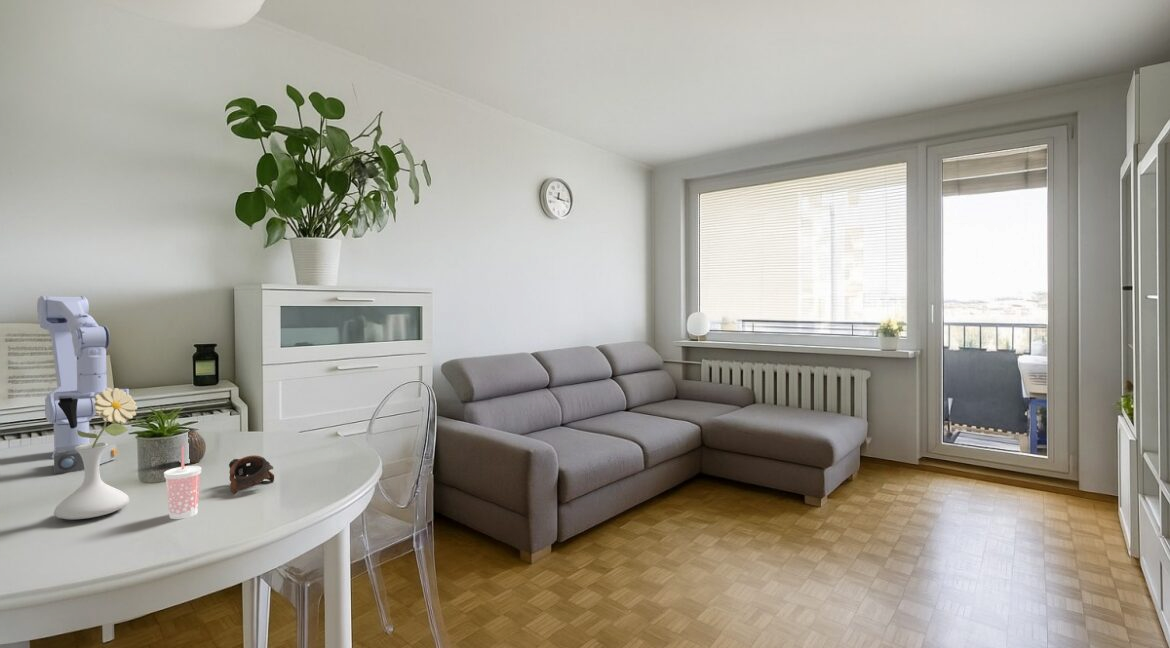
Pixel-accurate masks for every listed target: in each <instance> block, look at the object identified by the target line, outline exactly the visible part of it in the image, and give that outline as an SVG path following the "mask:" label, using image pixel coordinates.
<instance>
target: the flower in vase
mask: <svg viewBox="0 0 1170 648" xmlns="http://www.w3.org/2000/svg"><path fill="white" fill-rule="evenodd" d="M112 389H114V390H112ZM119 389H120V388H118V387H115V388H110V387H107V389H106V390H103V391H102V394H103V395H102V394H97V395H94V396H95V398H94V401H95V402H96V403H94V406H95V413H96V415H98V416H99V418H102V419H103V421H104V424H103V427H102V428H101V430H100V432H99V433H98V434H96V433H90V432H89V433H85V432H81V431H79V430H77V432H78V435H79V436H81V437H86V438H90V439H95V440H94V442H92V443H91V442H90V444H84V445H79V446H76V447H75V450H77V451H78V452H79V454H80V455H81V457H82V460H83V463H84V470H83V471H84V478H83V481H82V484H81V485H80V486H79V487H78V488H77V489H76V490H75V491H73V492H72V493H71V494H69V495H68V496H67V497H65V498H64V499H63V500H62V501H61V502H59V504H58V505H56V507H55V508H54V511H53V515H54V516H55V517H56V518H58V519H62V520H85V519H91V518H97V517H102V516H104V515H108V514H111V513H114V512H116V511H119V510H120V509H122V508H125V507H126V506H127V505H128V504H129V502H130V497H129V496H128V494H127V493H125V492H123V491H122V490H120V489H118V488H115V487H113V486H112V485H109V484H107V483H105V482H104V481H103V480H102V478H101V475H100V474H101V473H100V466H101V464H100V458H101V455H102V452H103V450H104V449H105V447H106V446H109V445H108V443H107V442H98V441H99V439H100V437H101V436H102V434H103V432H104V431H105V432H106V433H107V434H108V435H110V436H113V437H116V436H118V435H122V434H124V433H126V432H127V431H128V430H129V429H128V428H127V427H126V426H124V425H123V424H126V423H127V422H128V419H129V420H131V419H133V417H135V416H137V412H136V411H137V410H138V406H137V403H136V401H135V400H134V399H133V396H132V395H130V394H129V395H126V392H124V391H123V390H119ZM109 422H112V423H114V424H111V425H109V424H108V426H107V423H109Z"/></svg>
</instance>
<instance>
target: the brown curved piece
mask: <svg viewBox="0 0 1170 648" xmlns="http://www.w3.org/2000/svg"><path fill="white" fill-rule="evenodd" d="M228 467H229V472H228V473H229V481H230V484H229V490H230V492H231V493H232V494H235V495H236V493H237V491H239V490H240V491H241V490H244V489H246V488H252V487H254V486H256V485H258V484H261V483H262V481H264V480H268V481H270V482H271V483H274V482H275V475H274V473H273V472H271V470H274V466H273V465H271V463H270V462H269V461H268V460H266V458H264V457H263V456H259V455H256V454H255V455H247V456H243V457H242V458H233V459H232V460H231V461H230V462H229V464H228ZM273 481H274V482H273Z"/></svg>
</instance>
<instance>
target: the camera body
mask: <svg viewBox="0 0 1170 648" xmlns="http://www.w3.org/2000/svg"><path fill="white" fill-rule="evenodd" d="M82 445H84V444H82ZM76 446H79V445H74V446H65V447H57V448H56V451H55V454H54V458H53V462H54V463H53V464H54V465H53V467H54V468H53V469H54V471H53V472H54V473H58V474H65V473H70V472H69V471H72V472H78V471H77V470H79V471H83V470H82V469H84V463H83V460H82V457H81V455H80V454H79V452H78V451H77V450H75V447H76ZM64 472H65V473H64Z"/></svg>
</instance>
